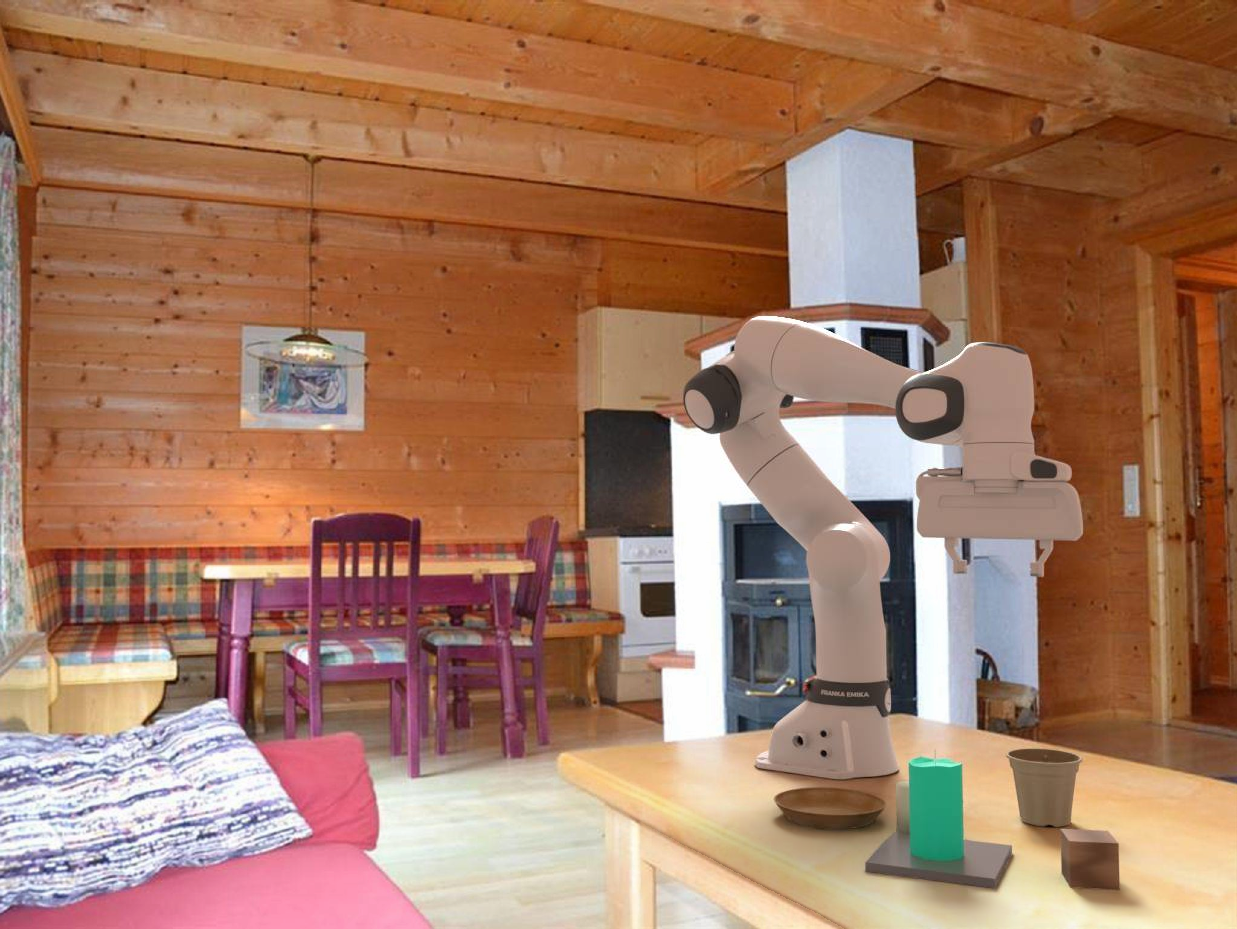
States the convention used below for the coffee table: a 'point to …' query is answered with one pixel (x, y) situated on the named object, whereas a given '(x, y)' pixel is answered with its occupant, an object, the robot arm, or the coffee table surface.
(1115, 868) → the walnut cube
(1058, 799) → the flower pot
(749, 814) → the coffee table surface
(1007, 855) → the coaster
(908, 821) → the white rounded capsule
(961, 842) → the candle
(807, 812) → the plant saucer
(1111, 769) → the coffee table surface
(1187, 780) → the coffee table surface
